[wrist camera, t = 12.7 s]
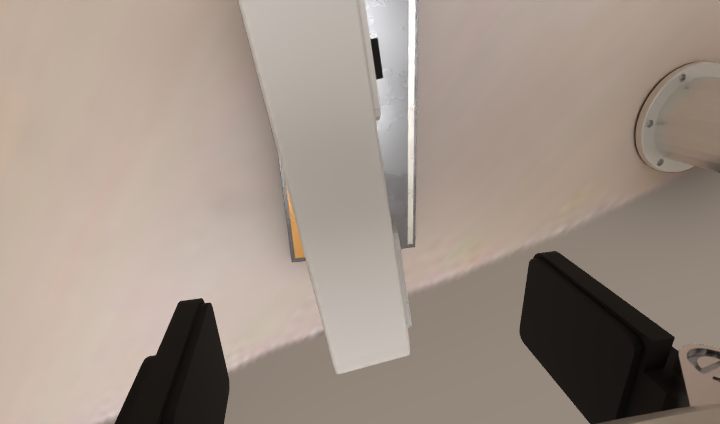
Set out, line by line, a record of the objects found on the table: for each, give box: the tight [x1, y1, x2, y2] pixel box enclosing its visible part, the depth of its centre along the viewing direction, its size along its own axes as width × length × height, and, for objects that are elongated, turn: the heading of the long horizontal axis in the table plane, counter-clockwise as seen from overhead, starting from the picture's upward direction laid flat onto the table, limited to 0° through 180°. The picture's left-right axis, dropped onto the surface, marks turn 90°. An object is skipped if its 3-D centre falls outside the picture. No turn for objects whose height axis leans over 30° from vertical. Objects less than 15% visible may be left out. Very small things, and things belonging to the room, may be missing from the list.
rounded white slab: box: [238, 0, 412, 374], centre depth 30 cm, size 29×8×18 cm, turn 10°
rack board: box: [279, 0, 418, 262], centre depth 39 cm, size 14×26×1 cm, turn 3°
